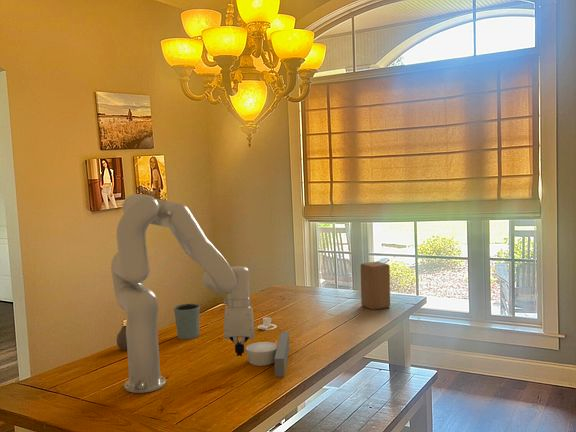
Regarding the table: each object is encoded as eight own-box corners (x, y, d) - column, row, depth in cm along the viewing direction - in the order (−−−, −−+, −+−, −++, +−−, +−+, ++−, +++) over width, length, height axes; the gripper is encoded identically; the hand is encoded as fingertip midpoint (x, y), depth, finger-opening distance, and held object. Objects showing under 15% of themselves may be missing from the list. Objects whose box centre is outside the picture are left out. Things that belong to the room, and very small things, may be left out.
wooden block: (360, 305, 267) (359, 263, 265) (378, 302, 271) (377, 260, 269) (372, 310, 258) (371, 266, 256) (391, 307, 262) (390, 264, 260)
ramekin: (242, 358, 203) (241, 344, 202) (273, 354, 206) (272, 339, 206) (250, 369, 192) (250, 354, 192) (282, 364, 196) (282, 349, 195)
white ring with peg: (262, 332, 233) (261, 322, 233) (252, 327, 240) (252, 318, 240) (280, 328, 238) (280, 318, 238) (270, 324, 245) (270, 314, 244)
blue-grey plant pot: (176, 341, 225) (174, 311, 224) (174, 333, 235) (172, 304, 233) (202, 338, 228) (201, 308, 226) (199, 330, 237) (198, 302, 236)
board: (284, 376, 185) (283, 358, 184) (275, 376, 185) (274, 358, 184) (289, 347, 213) (288, 331, 212) (281, 347, 213) (280, 331, 212)
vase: (129, 344, 222) (127, 322, 221) (140, 348, 218) (138, 325, 217) (113, 349, 217) (112, 327, 216) (124, 353, 213) (122, 330, 212)
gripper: (215, 305, 194) (216, 358, 196) (259, 305, 194) (260, 358, 195) (218, 300, 202) (220, 351, 203) (261, 300, 201) (262, 351, 203)
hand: (239, 354), depth 199 cm, fingers closed
